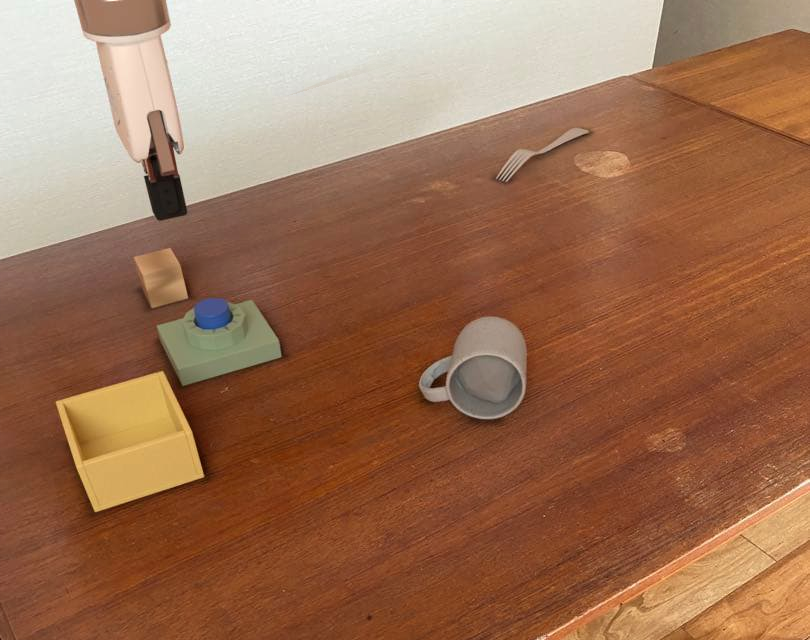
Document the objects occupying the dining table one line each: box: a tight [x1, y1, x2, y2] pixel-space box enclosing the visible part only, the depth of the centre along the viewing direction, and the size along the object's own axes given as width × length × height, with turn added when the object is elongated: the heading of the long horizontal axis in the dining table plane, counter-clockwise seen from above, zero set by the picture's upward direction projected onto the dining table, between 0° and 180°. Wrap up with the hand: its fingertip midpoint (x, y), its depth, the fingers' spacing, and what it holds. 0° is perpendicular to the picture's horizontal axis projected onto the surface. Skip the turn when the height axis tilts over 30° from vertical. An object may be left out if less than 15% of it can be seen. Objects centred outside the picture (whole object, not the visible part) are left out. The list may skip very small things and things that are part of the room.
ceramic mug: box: [418, 315, 528, 420], centre depth 85 cm, size 11×8×8 cm
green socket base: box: [156, 299, 282, 387], centre depth 93 cm, size 11×9×4 cm
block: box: [133, 247, 189, 309], centre depth 101 cm, size 4×4×4 cm
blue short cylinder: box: [193, 297, 231, 330], centre depth 91 cm, size 4×4×2 cm
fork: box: [495, 127, 590, 183], centre depth 125 cm, size 3×21×3 cm, turn 139°
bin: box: [55, 370, 205, 513], centre depth 80 cm, size 10×10×6 cm
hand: (170, 214), depth 88 cm, fingers closed
